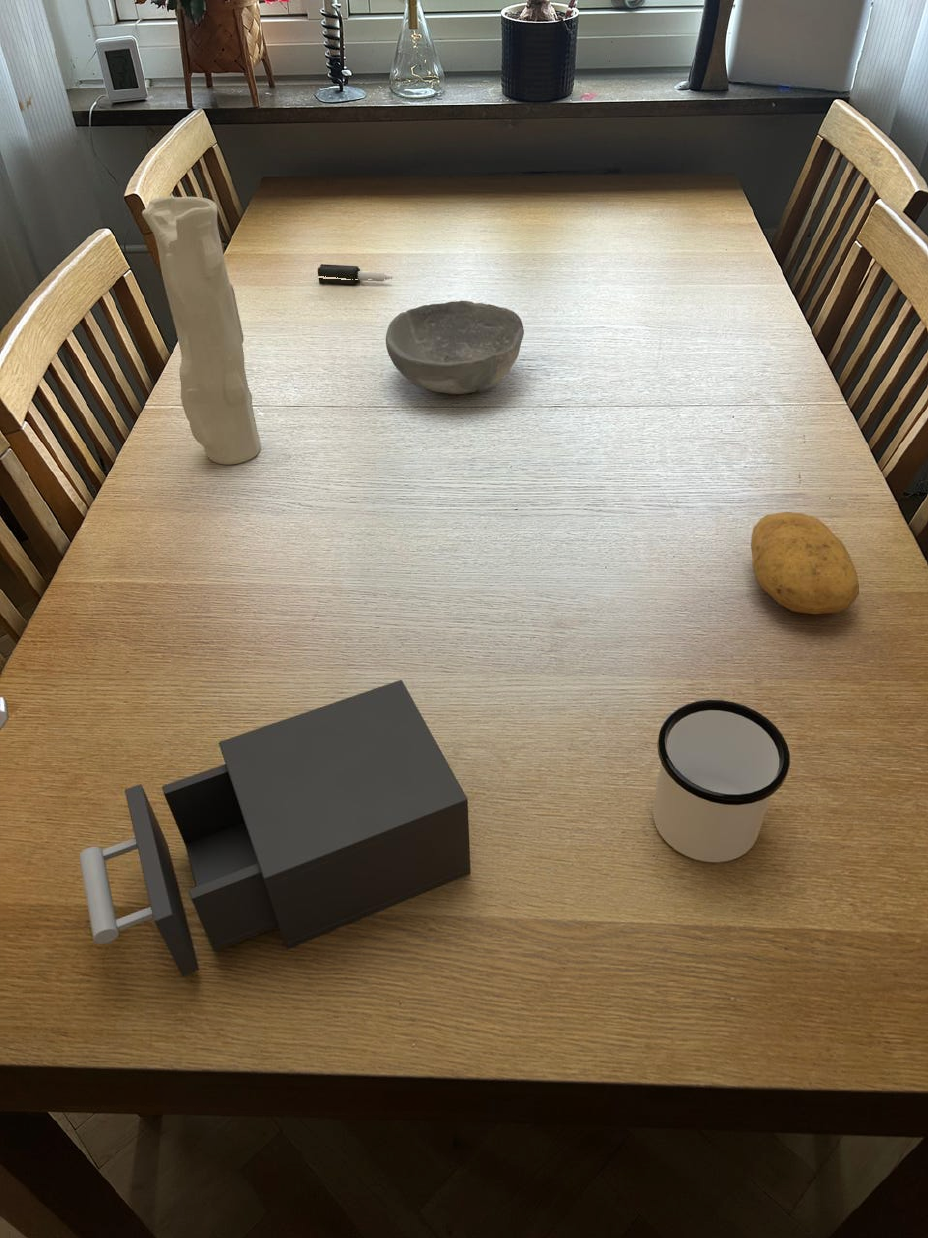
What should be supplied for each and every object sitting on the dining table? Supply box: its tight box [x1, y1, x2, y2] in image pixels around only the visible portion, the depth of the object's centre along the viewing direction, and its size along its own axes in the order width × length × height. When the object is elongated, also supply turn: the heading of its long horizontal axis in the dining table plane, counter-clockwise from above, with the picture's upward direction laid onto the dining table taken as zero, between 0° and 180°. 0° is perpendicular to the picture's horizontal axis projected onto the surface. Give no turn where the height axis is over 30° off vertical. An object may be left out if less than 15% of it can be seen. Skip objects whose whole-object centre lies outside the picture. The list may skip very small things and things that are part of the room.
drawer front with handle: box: [78, 763, 279, 978], centre depth 67 cm, size 18×11×8 cm, turn 114°
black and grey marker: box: [317, 263, 394, 286], centre depth 148 cm, size 2×2×12 cm
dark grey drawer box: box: [218, 679, 472, 950], centre depth 70 cm, size 15×13×10 cm
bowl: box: [385, 300, 525, 395], centre depth 123 cm, size 18×18×8 cm
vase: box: [141, 195, 261, 465], centre depth 104 cm, size 9×8×30 cm
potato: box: [750, 511, 860, 615], centre depth 91 cm, size 9×13×7 cm
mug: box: [651, 698, 791, 863], centre depth 72 cm, size 12×10×9 cm
